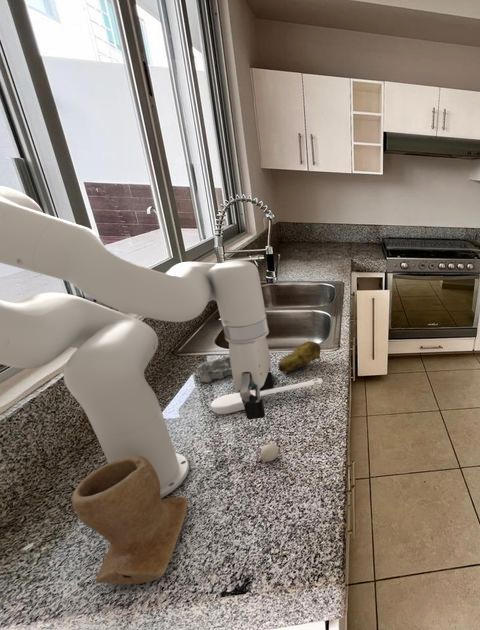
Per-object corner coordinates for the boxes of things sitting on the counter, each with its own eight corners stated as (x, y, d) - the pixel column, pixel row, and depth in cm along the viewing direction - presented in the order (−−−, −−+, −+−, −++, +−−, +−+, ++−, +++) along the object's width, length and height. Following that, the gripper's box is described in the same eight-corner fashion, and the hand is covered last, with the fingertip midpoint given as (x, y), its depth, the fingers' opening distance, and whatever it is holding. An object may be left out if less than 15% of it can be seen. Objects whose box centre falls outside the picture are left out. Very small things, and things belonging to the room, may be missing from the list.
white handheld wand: (321, 383, 102) (321, 374, 101) (325, 393, 97) (324, 385, 96) (214, 405, 91) (211, 396, 90) (211, 418, 86) (209, 409, 85)
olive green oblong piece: (280, 363, 111) (276, 341, 108) (321, 358, 115) (319, 336, 112) (279, 377, 104) (275, 354, 101) (323, 370, 108) (321, 348, 105)
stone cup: (123, 513, 62) (94, 450, 56) (197, 498, 65) (177, 437, 59) (70, 608, 49) (26, 537, 43) (167, 583, 52) (138, 515, 46)
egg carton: (200, 385, 99) (197, 373, 98) (198, 373, 105) (195, 361, 103) (241, 374, 105) (238, 362, 103) (237, 363, 110) (234, 352, 109)
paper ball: (278, 464, 73) (275, 451, 72) (260, 466, 73) (257, 453, 71) (280, 451, 77) (278, 439, 75) (263, 453, 76) (261, 441, 75)
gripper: (237, 311, 71) (251, 381, 78) (208, 351, 56) (229, 433, 63) (275, 309, 73) (286, 377, 80) (257, 347, 57) (273, 428, 64)
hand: (261, 402), depth 71 cm, fingers open, 9 cm apart
